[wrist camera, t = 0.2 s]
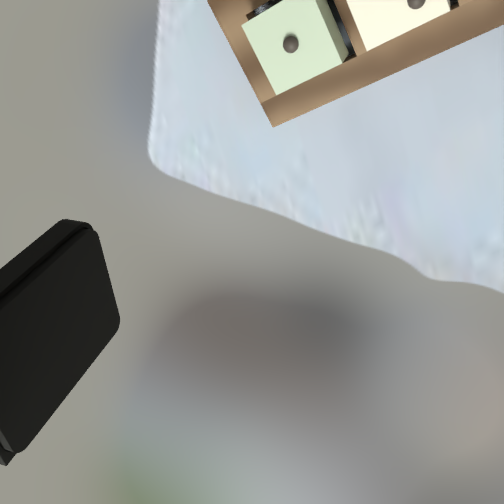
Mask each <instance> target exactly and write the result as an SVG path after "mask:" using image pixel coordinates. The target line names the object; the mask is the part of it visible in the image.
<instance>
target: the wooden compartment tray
mask: <svg viewBox="0 0 504 504" xmlns="http://www.w3.org/2000/svg"><path fill="white" fill-rule="evenodd" d="M268 1H270V0H207V2H208V4H209V6H210V7H211V9H212V11H213V13H214V15H215V17H216V19H217V21H218V23H219V25H220V27H221V29H222V31H223V32H224V34H225V36H226V38H227V40H228V42H229V44H230V46H231V48H232V50H233V52H234V54H235V55H236V57H237V59H238V61H239V63H240V65H241V67H242V69H243V71H244V73H245V75H246V77H247V79H248V80H249V82H250V84H251V86H252V88H253V90H254V92H255V94H256V96H257V98H258V100H259V102H260V104H261V105H262V107H263V109H264V111H265V113H266V115H267V117H268V119H269V121H270V123H271V125H272V127H275V126H277V125H280V124H282V123H284V122H286V121H289V120H291V119H293V118H295V117H298V116H300V115H302V114H304V113H307V112H309V111H311V110H313V109H316V108H318V107H320V106H322V105H324V104H327V103H329V102H331V101H333V100H336V99H338V98H340V97H342V96H345V95H347V94H349V93H351V92H354V91H356V90H358V89H360V88H362V87H365V86H367V85H369V84H371V83H374V82H376V81H378V80H380V79H383V78H385V77H387V76H389V75H392V74H394V73H396V72H398V71H401V70H403V69H405V68H407V67H409V66H412V65H414V64H416V63H418V62H421V61H423V60H425V59H427V58H430V57H432V56H434V55H436V54H439V53H441V52H443V51H445V50H447V49H450V48H452V47H454V46H456V45H459V44H461V43H463V42H465V41H468V40H470V39H472V38H474V37H477V36H479V35H481V34H483V33H486V32H488V31H490V30H492V29H494V28H497V27H499V26H501V25H503V24H504V0H458V3H456V4H454V5H452V6H450V11H449V12H447V13H445V14H443V15H440V16H438V17H436V18H434V19H432V20H430V21H428V22H426V23H424V24H422V25H420V26H418V27H416V28H414V29H412V30H410V31H408V32H406V33H404V34H401V35H399V36H397V37H395V38H393V39H391V40H389V41H387V42H385V43H383V44H381V45H379V46H377V47H375V48H373V49H371V50H369V51H367V50H366V48H365V45H364V43H363V40H362V38H361V35H360V33H359V30H358V28H357V25H356V23H355V21H354V18H353V16H352V13H351V11H350V8H349V6H348V3H347V1H346V0H334V2H335V5H336V7H337V10H338V12H339V14H340V17H341V19H342V22H343V24H344V26H345V29H346V31H347V34H348V36H349V39H350V41H351V43H352V46H353V48H354V51H355V53H354V54H352V55H350V56H348V57H346V58H345V60H344V62H343V63H342V64H340V65H338V66H336V67H334V68H332V69H330V70H328V71H325V72H323V73H321V74H319V75H317V76H315V77H313V78H311V79H309V80H307V81H305V82H303V83H301V84H299V85H297V86H295V87H293V88H291V89H288V90H286V91H284V92H282V93H280V94H278V95H276V94H275V92H274V90H273V88H272V86H271V84H270V82H269V80H268V78H267V76H266V74H265V72H264V70H263V68H262V66H261V64H260V62H259V60H258V58H257V56H256V54H255V52H254V50H253V48H252V46H251V44H250V42H249V40H248V38H247V36H246V34H245V32H244V30H243V28H242V26H241V25H243V24H244V23H246V22H248V21H249V20H251V19H252V18H254V17H256V15H255V13H254V11H253V10H255V9H257V8H258V7H260V6H261V5H263V4H265V3H266V2H268Z"/></svg>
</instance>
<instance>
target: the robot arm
mask: <svg viewBox="0 0 504 504" xmlns="http://www.w3.org/2000/svg"><path fill="white" fill-rule="evenodd" d="M119 324H120V316H119V312H118V308H117V304H116V301H115V297H114V293H113V289H112V285H111V281H110V278H109V274H108V270H107V266H106V262H105V259H104V255H103V251H102V247H101V244H100V240H99V236H98V234H97V232H96V231H94V230H93V228H92V226H91V225H90V224H89V223H86V222H80V221H74V220H68V219H62V220H61V221H59V222H58V223H56V224H55V225H54V226H53V227H51V228H50V229H49V230H48V231H46V232H45V233H44V234H43V235H41V236H40V237H39V238H38V239H37V240H35V241H34V242H33V243H32V244H31V245H29V246H28V247H27V248H26V249H24V250H23V251H22V252H21V253H19V254H18V255H17V256H16V257H15V258H13V259H12V260H11V261H9V262H8V263H7V264H6V265H5V266H3V267H2V268H1V269H0V464H2V465H5V466H7V465H8V463H9V462H10V461H11V460H12V458H13V457H14V456H15V454H16V453H19V452H21V451H23V450H25V449H26V447H27V446H28V445H29V444H30V443H31V441H32V440H33V439H34V438H35V436H36V435H37V434H38V432H39V431H40V430H41V429H42V427H43V426H44V425H45V423H46V422H47V421H48V420H49V418H50V417H51V416H52V414H53V413H54V412H55V410H56V409H57V408H58V407H59V405H60V404H61V403H62V401H63V400H64V399H65V398H66V396H67V395H68V394H69V393H70V391H71V390H72V389H73V387H74V386H75V385H76V384H77V382H78V381H79V380H80V378H81V377H82V376H83V375H84V373H85V372H86V371H87V369H88V368H89V367H90V366H91V364H92V363H93V362H94V360H95V359H96V358H97V357H98V355H99V354H100V353H101V351H102V350H103V349H104V348H105V346H106V345H107V344H108V342H109V341H110V340H111V338H112V337H113V336H114V335H115V333H116V332H117V330H118V328H119Z"/></svg>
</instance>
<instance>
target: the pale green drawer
mask: <svg viewBox="0 0 504 504" xmlns="http://www.w3.org/2000/svg"><path fill="white" fill-rule="evenodd" d="M241 26H242V28H243V30H244V32H245V34H246V36H247V38H248V40H249V42H250V44H251V46H252V48H253V50H254V52H255V54H256V56H257V58H258V60H259V62H260V64H261V66H262V68H263V70H264V72H265V74H266V76H267V78H268V80H269V82H270V84H271V86H272V88H273V90H274V92H275V94H276V95H278V94H280V93H282V92H284V91H286V90H288V89H291V88H293V87H295V86H297V85H299V84H301V83H303V82H305V81H307V80H309V79H311V78H313V77H315V76H317V75H319V74H321V73H323V72H325V71H328V70H330V69H332V68H334V67H336V66H338V65H340V64H342V63H343V62H344V60H345V58H346V57H347V55H348V54H349V53H348V50H347V48H346V46H345V43H344V41H343V38H342V36H341V34H340V31H339V29H338V27H337V24H336V22H335V19H334V17H333V15H332V12H331V10H330V8H329V5H328V3H327V0H282V1H280V2H279V3H277V4H275V5H274V6H272V7H271V8H269V9H267V10H266V11H264V12H262V13H261V14H259V15H257V16H256V17H254V18H252V19H251V20H249V21H248V22H246V23H244V24H243V25H241Z"/></svg>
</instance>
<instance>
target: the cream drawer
mask: <svg viewBox="0 0 504 504" xmlns="http://www.w3.org/2000/svg"><path fill="white" fill-rule="evenodd" d="M346 1H347V3H348V6H349V8H350V11H351V13H352V16H353V18H354V21H355V23H356V25H357V28H358V30H359V33H360V35H361V38H362V40H363V43H364V45H365V48H366V50H367V51H369V50H371V49H373V48H375V47H377V46H379V45H381V44H383V43H385V42H387V41H389V40H391V39H393V38H395V37H397V36H399V35H401V34H404V33H406V32H408V31H410V30H412V29H414V28H416V27H418V26H420V25H422V24H424V23H426V22H428V21H430V20H432V19H434V18H436V17H438V16H440V15H443V14H445V13H447V12H449V11H450V0H346Z"/></svg>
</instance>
